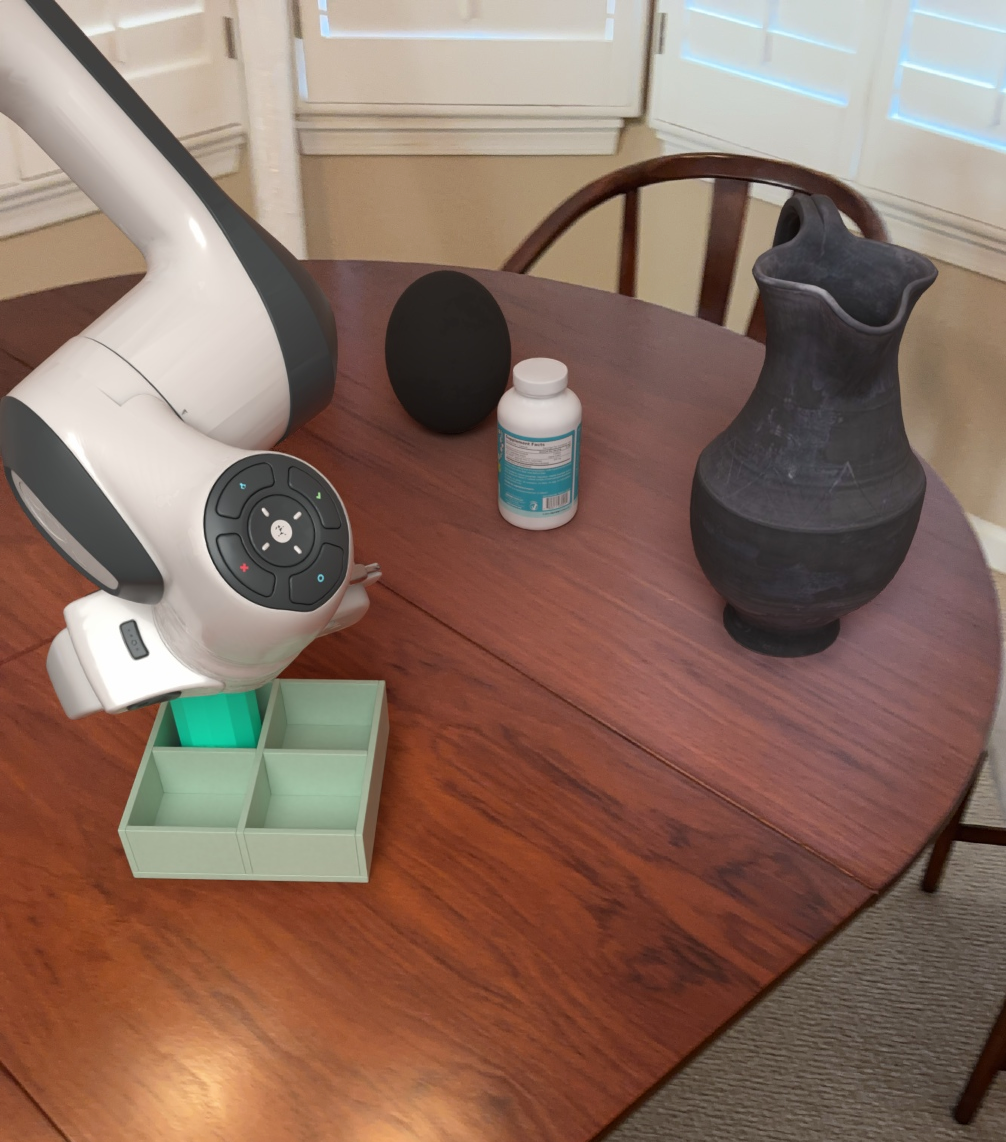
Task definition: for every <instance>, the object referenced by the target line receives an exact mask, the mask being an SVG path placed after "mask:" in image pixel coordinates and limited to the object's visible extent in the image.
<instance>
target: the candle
mask: <svg viewBox="0 0 1006 1142" xmlns="http://www.w3.org/2000/svg"><path fill="white" fill-rule="evenodd" d="M170 703H171V707H172V711H173V715H174V719H175V722H176V726H177V730H178V734H179V737H180V741H181V745H182V747H203V748H256V749H257V746H258V742H259V738H260V734H261V730H262V725H261V720H260V715H259V710H258V704H257V699H256V694H255V689H254V690H251V691H247V692H242V693H219V694H216V695H210V696H194V697H183V698H177V699H175V700H171V701H170Z"/></svg>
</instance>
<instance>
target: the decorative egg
mask: <svg viewBox="0 0 1006 1142" xmlns="http://www.w3.org/2000/svg"><path fill="white" fill-rule="evenodd" d="M384 358H385V359H384V360H385V367H386V372H387V376H388V379H389V382H390V386H391V388H392V390H393V393H394V395H395V396H396V398H397V401H398V402H399V403H400V406H402V408H403V409H404V411H405V412H406V413H407V414H408V415H409V416H410V417H411V418H412V419H413V420H414V421H416V422H417V423H418V424H420V425H421V426H423V427H424V428H426V429H429V430H431V431H434V432H437V433H440V434H441V433H442V434H460V433H464V432H466V431H467V432H468V431H470V430H471V429H474V428H475V427H477V426H479V425H480V424H481V423H483V422H484V421H485V420H486V419H487V418H489V417H490V415H491V414H493V412H494V411H495V409H496V408H498V404H499V401H500V399H501V398H502V396H503V395H504V394H505V392H506V388H507V385H508V383H509V379H510V374H511V367H512V342H511V336H510V331H509V327H508V323H507V320H506V318H505V314H504V313H503V310H502V308H501V306H500V305H499V303H498V301H497V300H496V298H495V297H494V296H493V294H492V293H491V292H490V291H489V289H488V288H486V286H485V285H483V283H481V282H480V281H478V280H477V279H476V278H475V277H472V276H470V275H469V274H466V273H463V272H461V271H456V270H450V269H449V270H447V269H442V270H436V271H433V272H432V271H431V272H429V273H426V274H424V275H422V276H420V277H419V278H417V279H415V280H414V281H413V282H412V283H411V284H409V285H408V286H407V287H406V288H405V290H404V291H403V292H402V293H401V295H400V296H399V297H398V299H397V301H396V302H395V304H394V307H393V308H392V311H391V313H390V316H389V319H388V322H387V326H386V331H385V339H384Z"/></svg>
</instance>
